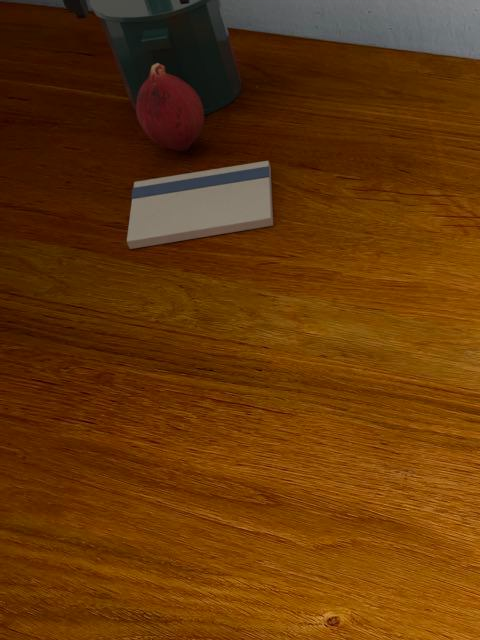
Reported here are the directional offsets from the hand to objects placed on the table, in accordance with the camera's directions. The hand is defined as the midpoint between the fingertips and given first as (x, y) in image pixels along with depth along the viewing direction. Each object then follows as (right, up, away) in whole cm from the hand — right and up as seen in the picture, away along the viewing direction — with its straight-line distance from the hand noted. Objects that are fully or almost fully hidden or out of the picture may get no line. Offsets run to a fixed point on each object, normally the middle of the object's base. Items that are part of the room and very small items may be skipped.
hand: (134, 7), depth 89 cm
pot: (-1, 0, +18) cm, 18 cm away
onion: (+1, -9, +10) cm, 13 cm away
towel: (+5, -16, +2) cm, 17 cm away
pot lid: (-2, +6, +11) cm, 13 cm away
